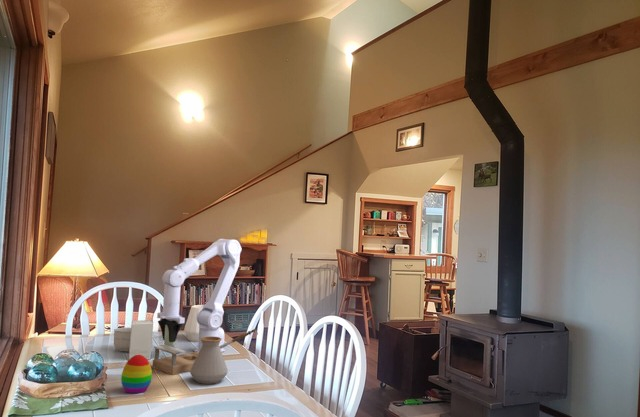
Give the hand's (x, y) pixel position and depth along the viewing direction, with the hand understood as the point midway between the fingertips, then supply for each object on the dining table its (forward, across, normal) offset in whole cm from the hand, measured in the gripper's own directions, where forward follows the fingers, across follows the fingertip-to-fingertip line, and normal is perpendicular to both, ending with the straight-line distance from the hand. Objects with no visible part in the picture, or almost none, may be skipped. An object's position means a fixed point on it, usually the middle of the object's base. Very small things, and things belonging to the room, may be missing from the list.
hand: (169, 340), depth 177 cm
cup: (+6, -18, +27) cm, 33 cm away
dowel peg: (+2, 0, 0) cm, 2 cm away
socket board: (+6, +14, -2) cm, 15 cm away
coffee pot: (+6, +33, -1) cm, 34 cm away
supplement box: (+6, -6, -8) cm, 12 cm away
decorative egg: (+6, +26, -27) cm, 38 cm away
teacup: (+6, -17, -5) cm, 18 cm away
